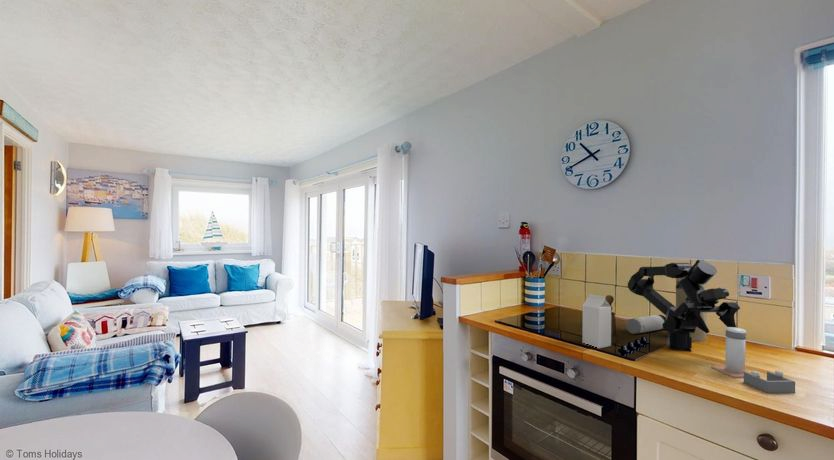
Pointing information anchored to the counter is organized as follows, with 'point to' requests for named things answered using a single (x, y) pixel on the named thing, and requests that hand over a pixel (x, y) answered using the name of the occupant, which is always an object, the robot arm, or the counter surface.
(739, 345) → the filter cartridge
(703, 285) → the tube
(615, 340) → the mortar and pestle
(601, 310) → the milk carton
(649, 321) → the travel mug
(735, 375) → the mat
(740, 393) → the counter surface
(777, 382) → the cartridge housing
